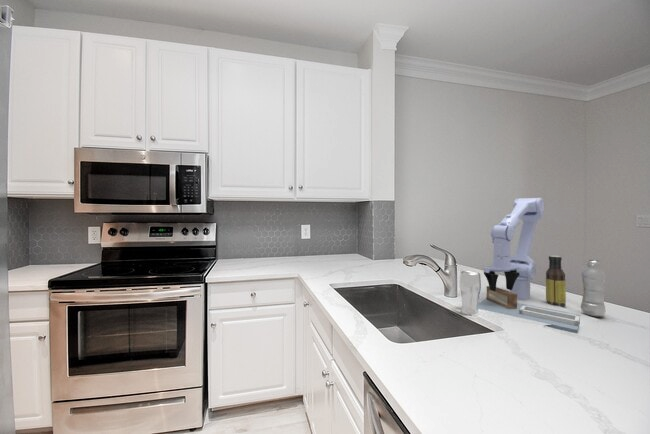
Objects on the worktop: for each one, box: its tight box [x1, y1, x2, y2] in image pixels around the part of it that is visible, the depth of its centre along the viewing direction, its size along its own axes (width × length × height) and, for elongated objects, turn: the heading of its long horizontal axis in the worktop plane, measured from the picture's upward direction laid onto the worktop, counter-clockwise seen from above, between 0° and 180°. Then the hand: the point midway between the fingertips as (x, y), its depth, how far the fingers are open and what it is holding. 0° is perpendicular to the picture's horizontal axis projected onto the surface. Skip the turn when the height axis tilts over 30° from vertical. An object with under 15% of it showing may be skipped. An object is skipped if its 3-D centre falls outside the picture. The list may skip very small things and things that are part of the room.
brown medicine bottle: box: [545, 255, 567, 308], centre depth 115 cm, size 6×6×20 cm
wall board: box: [478, 297, 582, 334], centre depth 107 cm, size 18×30×2 cm, turn 46°
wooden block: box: [485, 285, 518, 309], centre depth 115 cm, size 3×12×6 cm, turn 11°
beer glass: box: [459, 270, 482, 317], centre depth 107 cm, size 7×7×15 cm
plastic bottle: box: [580, 259, 607, 318], centre depth 105 cm, size 6×7×20 cm
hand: (501, 290), depth 115 cm, fingers open, 7 cm apart
